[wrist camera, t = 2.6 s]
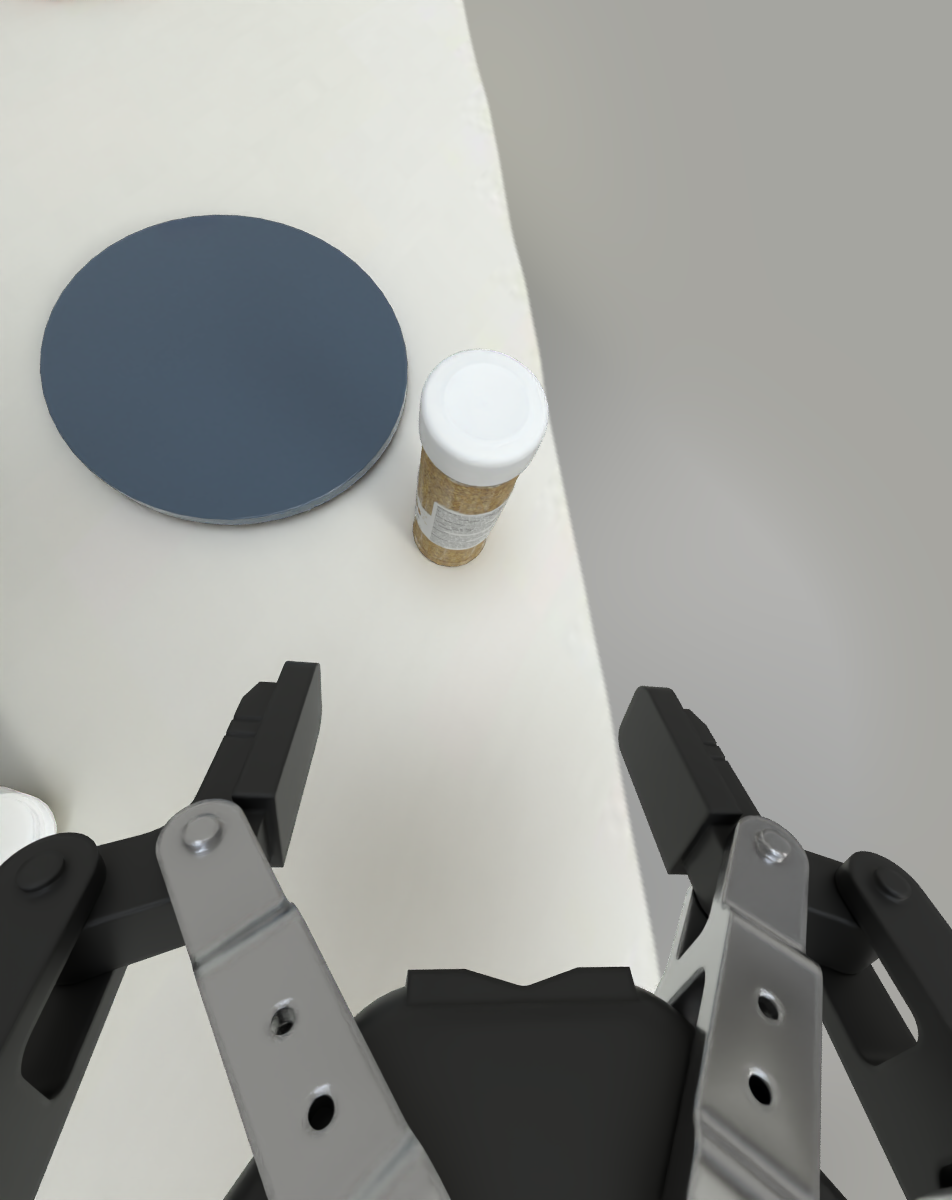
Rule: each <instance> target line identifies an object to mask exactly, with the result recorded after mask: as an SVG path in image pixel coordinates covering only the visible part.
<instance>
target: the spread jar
mask: <svg viewBox="0 0 952 1200" xmlns="http://www.w3.org/2000/svg"><path fill="white" fill-rule="evenodd" d="M54 834H57V825H56V822H55V818H54V814H53V813H52V811H51V810H50V808H49V807H48V805H47V804H45V803H44V802H43V801H42V800H40V799H39V798H37V797H34V796H31V795H28V794H26V793H23V792H19V791H16V790H13V789H10V788H7V787H1V786H0V866H1V865H2V864H3V863H4V862H5V861H6V860H7V859H8V858H9V857H11V856H12V855H13V854H14V853H16V852H17V851H19V850H20V849H22V848H23V847H25V846H27V845H29V844H30V843H32V842H35V841H37V840H39V839H41V838H44V837H47V836H50V835H54Z"/></svg>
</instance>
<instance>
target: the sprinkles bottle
mask: <svg viewBox="0 0 952 1200" xmlns="http://www.w3.org/2000/svg"><path fill="white" fill-rule="evenodd" d="M548 416H549V410H548V403H547V398H546V395H545V392H544V390H543V388H542V386H541V384H540V383H539V381H538V380H537V378H536V377H535V375H534V374H533V373H532V372H531V371H530V370H529V369H528V368H527V367H526V366H525V365H523V364H522V363H521V362H519V361H518V360H516V359H514V358H513V357H511V356H509V355H506V354H504V353H501V352H498V351H493V350H487V349H471V350H465V351H461V352H458V353H456V354H453V355H451V356H449V357H447V358H446V359H444V360H443V361H442V362H440V363H439V364H438V365H437V366H436V367H435V368H434V369H433V371H432V372H431V373H430V374H429V376H428V378H427V380H426V382H425V384H424V387H423V390H422V394H421V401H420V412H419V434H420V440H421V443H422V451H421V462H420V466H419V472H418V481H417V494H416V506H415V514H416V516H415V519H414V523H413V534H414V539H415V543H416V544H417V546H418V548H419V550H420V551H421V552H422V553H423V554H424V555H425V556H426V557H427V558H428V559H430V560H431V561H433V562H435V563H436V564H438V565H445V566H460V565H463V564H467V563H468V562H470V561H471V560H473V559H474V558H475V557H476V556H477V555H478V554H479V553H480V552H481V550H482V549H483V547H484V545H485V542H486V537H487V536H488V535H489V533H490V531H491V530H492V528H493V526H494V524H495V523H496V521H497V519H498V517H499V515H500V513H501V512H502V510H503V508H504V506H505V504H506V502H507V500H508V498H509V496H510V495H511V493H512V490H513V488H514V485H515V482H516V480H517V478H518V476H519V474H520V473H522V472H523V471H524V470H525V469H526V468H527V466H528V465H529V464H530V462H531V461H532V459H533V457H534V456H535V454H536V452H537V450H538V448H539V446H540V444H541V442H542V440H543V437H544V435H545V432H546V429H547V425H548Z"/></svg>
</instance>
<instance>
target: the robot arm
mask: <svg viewBox="0 0 952 1200" xmlns="http://www.w3.org/2000/svg"><path fill="white" fill-rule="evenodd" d="M321 715H322V701H321V673H320V664H319V663H309V662H295V661H286V662H285V664H284V666H283V669H282V671H281V673H280V676H279V678H278V681H277V683H274V682H259V683H258V684H257V685H256V686H254V687H253V688H252V689H251V690H250V691H249V692H248V693H247V694H246V695H245V696H244V697H243V698H242V700H241V702H240V704H239V706H238V708H237V710H236V712H235V715H234V719H233V720H232V721H231V723H230V725H229V727H228V729H227V733H226V736H224V738H223V740H222V742H221V744H220V746H219V748H218V751H217V753H216V755H215V757H214V759H213V761H212V763H211V765H210V768H209V770H208V772H207V774H206V776H205V778H204V780H203V782H202V784H201V787H200V789H199V791H198V793H197V795H196V797H195V798H194V800H193V801H192V803H191V804H190V805H189V806H187V807H185V808H184V809H182V810H181V811H179V812H178V813H176V814H175V815H174V816H173V817H172V818H171V819H170V820H169V821H168V822H167V823H166V824H165V826H163V827H161V828H159V829H156V830H154V831H152V832H149V833H146V834H142V835H139V836H135V837H131V838H127V839H123V840H119V841H115V842H111V843H107V844H103V845H99V846H96V844H95V843H94V841H93V840H92V839H90V838H89V837H88V836H85V835H83V834H79V833H70V832H68V833H59V834H54V835H50V836H47V837H44V838H41V839H39V840H37V841H35V842H32V843H30V844H29V845H27V846H25V847H23V848H22V849H20V850H19V851H17V852H16V853H14V854H13V855H12V856H11V857H9V858H8V859H7V860H6V861H5V862H4V863H3V864H2V865H1V866H0V1200H34V1199H35V1196H36V1194H37V1191H38V1189H39V1186H40V1184H41V1181H42V1179H43V1176H44V1174H45V1171H46V1169H47V1166H48V1164H49V1161H50V1159H51V1156H52V1154H53V1151H54V1149H55V1146H56V1144H57V1141H58V1139H59V1136H60V1134H61V1131H62V1129H63V1126H64V1124H65V1121H66V1119H67V1116H68V1113H69V1111H70V1108H71V1106H72V1103H73V1101H74V1098H75V1096H76V1093H77V1091H78V1088H79V1086H80V1083H81V1081H82V1078H83V1076H84V1073H85V1071H86V1068H87V1066H88V1063H89V1061H90V1058H91V1056H92V1053H93V1051H94V1048H95V1046H96V1043H97V1041H98V1038H99V1036H100V1033H101V1031H102V1028H103V1026H104V1023H105V1021H106V1018H107V1016H108V1013H109V1011H110V1008H111V1006H112V1003H113V1001H114V998H115V996H116V993H117V991H118V988H119V986H120V983H121V981H122V978H123V976H124V973H125V971H126V968H127V966H128V965H130V964H133V963H135V962H138V961H141V960H144V959H147V958H150V957H153V956H156V955H159V954H162V953H164V952H167V951H170V950H173V949H176V948H179V947H182V946H185V945H186V948H187V951H188V954H189V957H190V960H191V963H192V967H193V972H194V975H195V978H196V981H197V984H198V988H199V991H200V994H201V997H202V1000H203V1003H204V1006H205V1009H206V1012H207V1015H208V1018H209V1021H210V1024H211V1027H212V1030H213V1033H214V1036H215V1039H216V1042H217V1046H218V1049H219V1052H220V1055H221V1058H222V1061H223V1064H224V1067H225V1070H226V1073H227V1076H228V1079H229V1082H230V1085H231V1088H232V1091H233V1094H234V1097H235V1100H236V1103H237V1106H238V1110H239V1113H240V1116H241V1119H242V1122H243V1125H244V1128H245V1131H246V1134H247V1137H248V1140H249V1143H250V1146H251V1149H252V1152H253V1155H254V1156H253V1158H252V1159H251V1161H250V1162H249V1163H248V1165H247V1166H246V1168H245V1169H244V1171H243V1172H242V1173H241V1175H240V1176H239V1178H238V1179H237V1181H236V1182H235V1184H234V1185H233V1186H232V1188H231V1189H230V1191H229V1192H228V1194H227V1195H226V1196H225V1198H224V1199H223V1200H847V1199H846V1198H845V1197H844V1196H843V1195H842V1193H841V1192H840V1191H839V1190H838V1189H837V1188H836V1187H835V1186H834V1184H833V1183H832V1182H831V1181H830V1180H829V1179H828V1178H827V1177H826V1176H825V1174H824V1173H823V1172H822V1171H821V1170H820V1129H821V1063H822V1061H821V1060H822V1058H821V1057H822V1022H823V1024H824V1026H825V1028H826V1030H827V1032H828V1034H829V1036H830V1038H831V1041H832V1043H833V1045H834V1047H835V1049H836V1051H837V1053H838V1055H839V1057H840V1059H841V1062H842V1064H843V1066H844V1068H845V1070H846V1072H847V1074H848V1076H849V1079H850V1081H851V1083H852V1085H853V1087H854V1089H855V1091H856V1093H857V1095H858V1097H859V1100H860V1102H861V1104H862V1106H863V1108H864V1110H865V1112H866V1114H867V1117H868V1119H869V1121H870V1123H871V1125H872V1127H873V1129H874V1131H875V1133H876V1135H877V1138H878V1140H879V1142H880V1144H881V1146H882V1148H883V1150H884V1152H885V1154H886V1156H887V1159H888V1161H889V1163H890V1165H891V1167H892V1169H893V1171H894V1173H895V1175H896V1178H897V1180H898V1182H899V1184H900V1186H901V1188H902V1190H903V1192H904V1194H905V1196H906V1199H907V1200H952V929H951V928H950V926H949V925H948V924H947V923H946V921H945V920H944V918H943V917H942V916H941V914H940V913H939V911H938V910H937V909H936V908H935V906H934V905H933V903H932V902H931V901H930V899H929V898H928V897H927V895H926V894H925V893H924V891H923V890H922V889H921V888H920V886H919V885H918V884H917V883H916V881H915V880H914V879H913V878H912V877H911V876H910V875H909V874H908V873H906V872H905V871H904V870H903V869H902V868H900V867H899V866H898V865H896V864H895V863H893V862H892V861H890V860H888V859H886V858H884V857H882V856H880V855H878V854H875V853H872V852H866V851H860V852H856V853H854V854H853V855H852V856H851V857H849V858H848V860H846V861H845V862H844V863H842V862H839V861H836V860H833V859H830V858H827V857H824V856H821V855H818V854H815V853H812V852H809V851H806V850H804V849H803V848H802V846H801V845H800V844H799V842H798V841H797V839H796V838H795V837H794V836H793V835H792V834H791V833H790V832H788V831H787V830H786V829H784V828H783V827H782V826H780V825H779V824H777V823H776V822H774V821H772V820H770V819H768V818H765V817H761V816H760V814H759V812H758V811H757V809H756V807H755V806H754V804H753V803H752V801H751V799H750V797H749V796H748V794H747V793H746V791H745V789H744V787H743V786H742V784H741V783H740V781H739V779H738V778H737V776H736V774H735V773H734V771H733V770H732V768H731V766H730V765H729V763H728V761H725V756H724V754H723V753H722V751H721V749H720V748H719V746H717V745H716V741H715V739H714V738H713V736H712V734H711V733H710V731H709V729H708V728H707V726H706V725H705V724H704V723H703V722H702V721H701V720H700V719H699V718H698V717H697V716H696V715H695V714H694V713H693V712H692V711H691V710H689V709H683V707H682V705H681V704H680V702H679V700H678V698H677V697H676V695H675V693H674V692H673V690H671V689H670V688H663V687H648V686H640V687H638V688H637V690H636V691H635V693H634V696H633V698H632V700H631V703H630V705H629V707H628V709H627V712H626V714H625V716H624V718H623V721H622V723H621V726H620V729H619V737H618V740H619V747H620V751H621V754H622V756H623V759H624V761H625V764H626V766H627V769H628V772H629V774H630V777H631V779H632V782H633V785H634V787H635V789H636V792H637V795H638V798H639V800H640V803H641V805H642V808H643V810H644V813H645V816H646V818H647V821H648V823H649V826H650V829H651V831H652V834H653V836H654V839H655V841H656V844H657V847H658V849H659V852H660V854H661V857H662V860H663V862H664V865H665V867H666V870H667V873H668V874H686V875H688V877H689V879H690V882H691V884H692V885H691V886H690V888H689V889H688V891H687V893H686V897H685V901H684V904H683V908H682V912H681V916H680V919H679V923H678V927H677V931H676V934H675V938H674V942H673V945H672V949H671V953H670V957H669V960H668V964H667V967H666V969H665V972H664V974H663V976H662V978H661V980H660V982H659V984H658V986H657V988H656V991H655V993H654V994H653V993H651V992H649V991H647V990H644V989H642V988H640V987H638V986H635V985H634V982H633V978H632V974H631V971H630V967H577V968H575V969H572V970H569V971H567V972H564V973H561V974H558V975H556V976H553V977H550V978H548V979H545V980H542V981H539V982H537V983H534V984H531V985H528V986H520V985H516V984H513V983H509V982H506V981H503V980H499V979H496V978H493V977H490V976H486V975H483V974H480V973H476V972H473V971H470V970H466V969H434V970H408V973H407V979H406V985H405V987H402V988H400V989H397V990H394V991H392V992H390V993H388V994H386V995H384V996H382V997H380V998H378V999H377V1000H375V1001H374V1002H372V1003H371V1004H370V1005H368V1006H367V1007H365V1008H364V1009H363V1010H362V1011H361V1012H360V1013H359V1014H357V1015H356V1016H355V1017H354V1018H353V1016H352V1014H351V1012H350V1010H349V1008H348V1006H347V1004H346V1002H345V1000H344V998H343V996H342V994H341V992H340V990H339V988H338V986H337V984H336V982H335V980H334V978H333V976H332V974H331V972H330V970H329V968H328V966H327V964H326V962H325V960H324V958H323V956H322V954H321V952H320V950H319V948H318V946H317V944H316V942H315V940H314V938H313V936H312V934H311V932H310V930H309V928H308V926H307V924H306V923H305V921H304V919H303V917H302V915H301V913H300V912H299V910H298V908H297V907H296V906H295V904H294V903H292V902H291V903H290V902H289V901H288V900H287V898H286V896H285V895H284V893H283V891H282V889H281V887H280V885H279V883H278V881H277V879H276V877H275V875H274V873H273V871H272V869H271V867H283V866H284V863H285V859H286V855H287V851H288V848H289V844H290V840H291V836H292V833H293V829H294V825H295V821H296V817H297V814H298V810H299V806H300V802H301V799H302V795H303V791H304V787H305V784H306V780H307V776H308V772H309V769H310V765H311V761H312V757H313V754H314V750H315V746H316V742H317V738H318V735H319V730H320V724H321ZM878 958H879V959H880V961H881V962H882V964H883V966H884V967H885V969H886V971H887V972H888V974H889V976H890V977H891V979H892V981H893V982H894V984H895V986H896V987H897V989H898V991H899V992H900V994H901V996H902V997H903V999H904V1000H905V1002H906V1004H907V1005H908V1007H909V1009H910V1010H911V1012H912V1014H913V1016H914V1018H915V1021H916V1024H917V1027H918V1035H919V1036H918V1041H917V1042H916V1040H915V1039H914V1037H913V1035H912V1034H911V1032H910V1030H909V1029H908V1027H907V1025H906V1024H905V1022H904V1020H903V1018H902V1017H901V1015H900V1013H899V1012H898V1010H897V1008H896V1006H895V1005H894V1003H893V1001H892V1000H891V998H890V996H889V994H888V993H887V991H886V989H885V988H884V986H883V984H882V983H881V981H880V979H879V977H878V976H877V974H876V972H875V971H874V969H873V967H872V965H871V963H873V962H874V961H875V960H877V959H878Z"/></svg>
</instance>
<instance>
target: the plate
mask: <svg viewBox="0 0 952 1200" xmlns="http://www.w3.org/2000/svg"><path fill="white" fill-rule="evenodd" d="M407 369H408V363H407V355H406V347H405V342H404V339H403V335H402V332H401V328H400V325H399V323H398V321H397V318H396V316H395V314H394V311H393V309H392V308H391V306H390V304H389V303H388V301H387V299H386V298H385V296H384V294H383V293H382V291H381V290H380V289H379V288H378V286H377V285H376V284H375V283H374V281H373V280H372V279H371V278H370V276H368V275H367V274H366V273H365V272H364V271H363V270H362V269H361V268H360V267H359V266H358V265H357V264H356V263H355V262H354V261H353V260H351V259H350V258H349V257H347V256H346V255H345V254H343V253H342V252H341V251H340V250H338V249H336V248H335V247H333V246H331V245H330V244H328V243H326V242H325V241H323V240H321V239H319V238H317V237H315V236H313V235H311V234H309V233H307V232H304V231H302V230H299V229H297V228H294V227H291V226H288V225H285V224H282V223H278V222H274V221H270V220H265V219H261V218H254V217H246V216H239V215H206V216H193V217H187V218H182V219H176V220H171V221H167V222H164V223H160V224H157V225H154V226H150V227H147V228H145V229H143V230H140V231H138V232H135V233H133V234H131V235H128V236H127V237H125V238H123V239H121V240H119V241H118V242H116V243H114V244H112V245H111V246H109V247H108V248H106V249H105V250H103V251H102V252H101V253H99V254H98V255H97V256H95V257H94V258H93V259H91V260H90V261H89V262H88V263H87V264H86V265H85V266H84V267H83V268H82V269H81V270H80V271H79V272H78V273H77V274H76V275H75V276H74V277H73V279H72V280H71V281H70V283H69V284H68V285H67V286H66V288H65V289H64V290H63V292H62V293H61V295H60V297H59V299H58V300H57V302H56V304H55V306H54V308H53V309H52V312H51V314H50V317H49V320H48V322H47V325H46V328H45V331H44V336H43V341H42V346H41V358H40V374H41V381H42V388H43V394H44V397H45V400H46V403H47V407H48V410H49V413H50V415H51V417H52V419H53V421H54V423H55V425H56V427H57V429H58V431H59V433H60V435H61V436H62V438H63V439H64V441H65V442H66V443H67V445H68V446H69V448H70V449H71V450H72V452H73V453H74V454H75V455H76V456H77V457H78V458H79V459H80V460H81V461H82V462H83V463H84V464H85V465H86V467H87V468H88V469H89V470H90V471H92V472H93V473H94V474H96V475H97V476H98V477H99V478H101V479H102V480H103V481H105V482H106V483H107V484H108V485H110V486H111V487H112V488H114V489H115V490H117V491H118V492H120V493H121V494H123V495H125V496H127V497H128V498H130V499H132V500H133V501H135V502H137V503H139V504H141V505H143V506H146V507H148V508H150V509H153V510H155V511H158V512H160V513H163V514H166V515H170V516H173V517H177V518H180V519H184V520H189V521H195V522H201V523H208V524H225V525H241V524H254V523H263V522H268V521H273V520H278V519H283V518H287V517H290V516H293V515H296V514H299V513H302V512H305V511H308V510H310V509H312V508H314V507H317V506H319V505H321V504H323V503H325V502H327V501H329V500H331V499H332V498H334V497H335V496H337V495H339V494H340V493H342V492H343V491H345V490H347V489H348V488H349V487H350V486H352V485H353V484H354V483H355V482H356V481H358V480H359V479H360V478H361V477H362V476H364V475H365V473H366V472H367V471H368V470H369V469H370V468H371V467H372V466H373V465H374V464H375V463H376V462H377V461H378V459H379V458H380V456H381V455H382V453H383V452H384V451H385V449H386V448H387V446H388V445H389V443H390V441H391V439H392V437H393V435H394V433H395V431H396V429H397V427H398V425H399V422H400V419H401V416H402V413H403V410H404V405H405V399H406V393H407Z"/></svg>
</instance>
